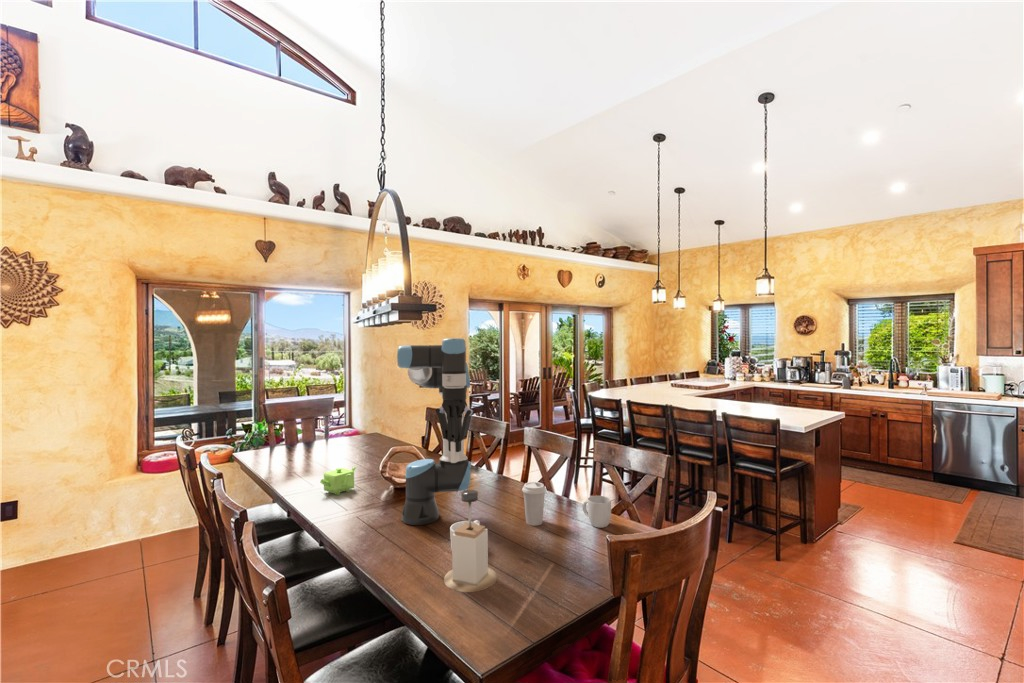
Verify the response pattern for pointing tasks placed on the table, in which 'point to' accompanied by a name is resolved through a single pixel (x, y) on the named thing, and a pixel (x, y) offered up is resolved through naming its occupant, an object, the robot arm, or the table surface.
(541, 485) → the coffee cup
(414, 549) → the table surface
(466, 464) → the robot arm
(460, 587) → the trivet
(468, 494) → the plunger
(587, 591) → the table surface
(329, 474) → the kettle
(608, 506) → the mug
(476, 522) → the mug
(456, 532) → the white french press
